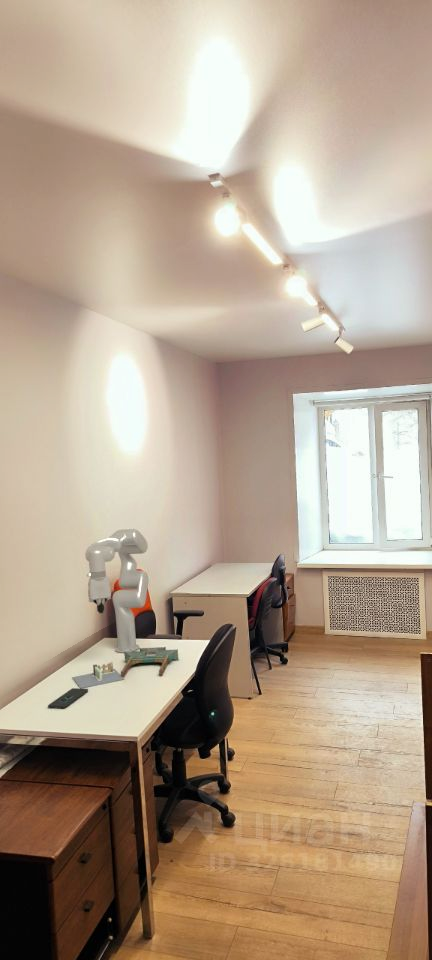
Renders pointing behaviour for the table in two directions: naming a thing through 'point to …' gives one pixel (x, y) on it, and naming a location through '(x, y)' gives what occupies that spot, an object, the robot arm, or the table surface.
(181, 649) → the table surface
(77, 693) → the smart home device
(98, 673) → the folding fence panel
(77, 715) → the table surface
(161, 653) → the miniature gate
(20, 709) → the table surface
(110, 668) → the fixed fence section
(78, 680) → the card
